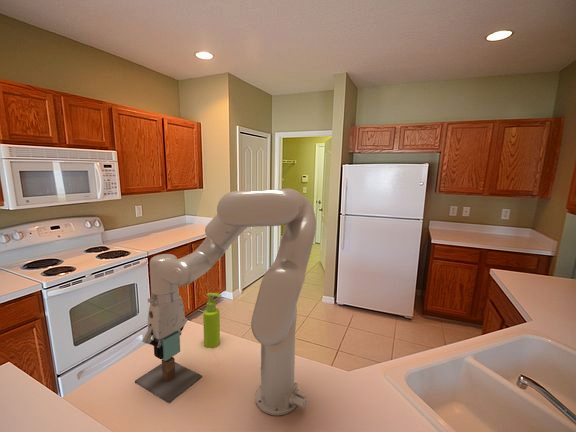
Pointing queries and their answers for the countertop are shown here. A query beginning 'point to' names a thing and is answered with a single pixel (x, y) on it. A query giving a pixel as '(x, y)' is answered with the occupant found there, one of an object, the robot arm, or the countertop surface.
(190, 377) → the grey base plate
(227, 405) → the countertop surface
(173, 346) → the teal cuboid
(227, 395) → the countertop surface
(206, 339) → the soap dispenser
